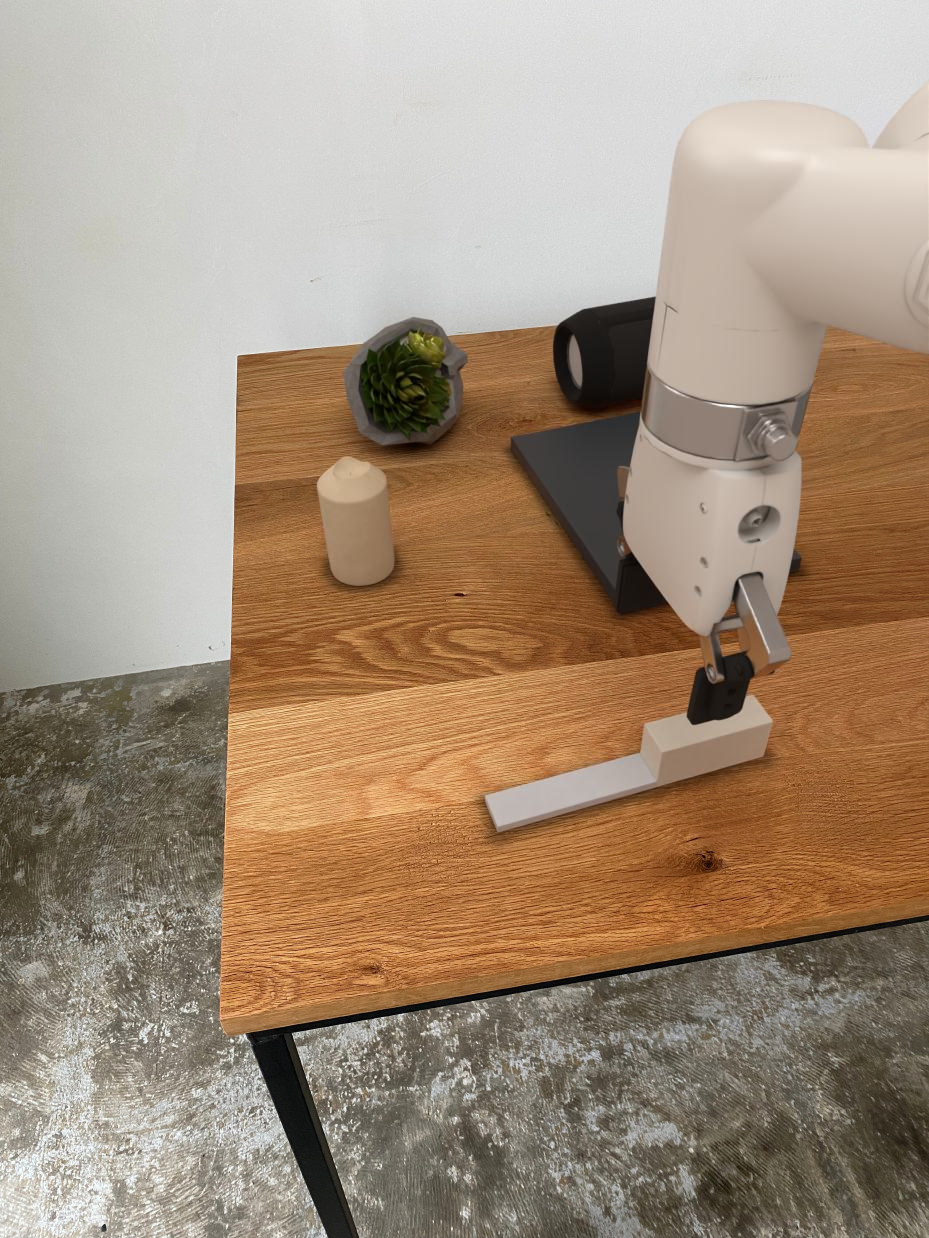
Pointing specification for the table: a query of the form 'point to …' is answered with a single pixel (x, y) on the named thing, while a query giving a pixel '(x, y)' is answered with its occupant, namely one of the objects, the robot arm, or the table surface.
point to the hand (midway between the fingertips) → (673, 657)
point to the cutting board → (587, 485)
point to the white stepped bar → (640, 766)
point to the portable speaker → (604, 352)
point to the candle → (356, 522)
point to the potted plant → (406, 383)
